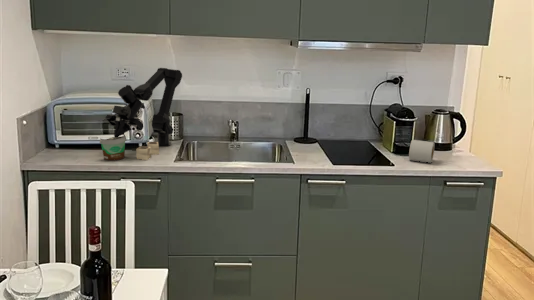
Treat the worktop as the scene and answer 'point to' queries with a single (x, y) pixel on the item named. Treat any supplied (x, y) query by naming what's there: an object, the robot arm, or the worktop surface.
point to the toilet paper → (421, 151)
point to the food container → (113, 148)
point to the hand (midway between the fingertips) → (115, 137)
